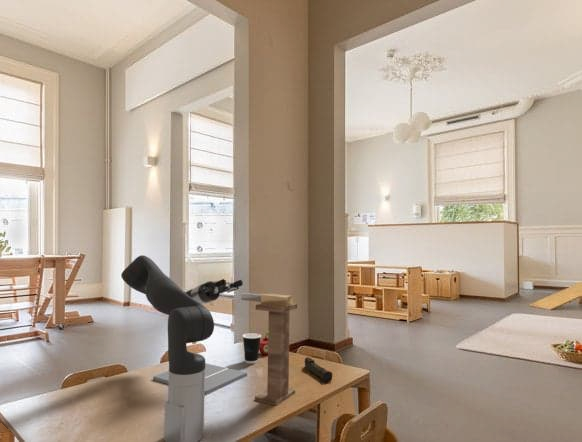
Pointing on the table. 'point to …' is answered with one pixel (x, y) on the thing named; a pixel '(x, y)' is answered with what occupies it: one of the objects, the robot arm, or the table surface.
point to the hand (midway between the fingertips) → (233, 282)
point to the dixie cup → (251, 347)
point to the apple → (264, 345)
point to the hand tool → (318, 370)
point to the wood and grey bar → (269, 299)
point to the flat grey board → (211, 377)
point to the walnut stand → (277, 354)
